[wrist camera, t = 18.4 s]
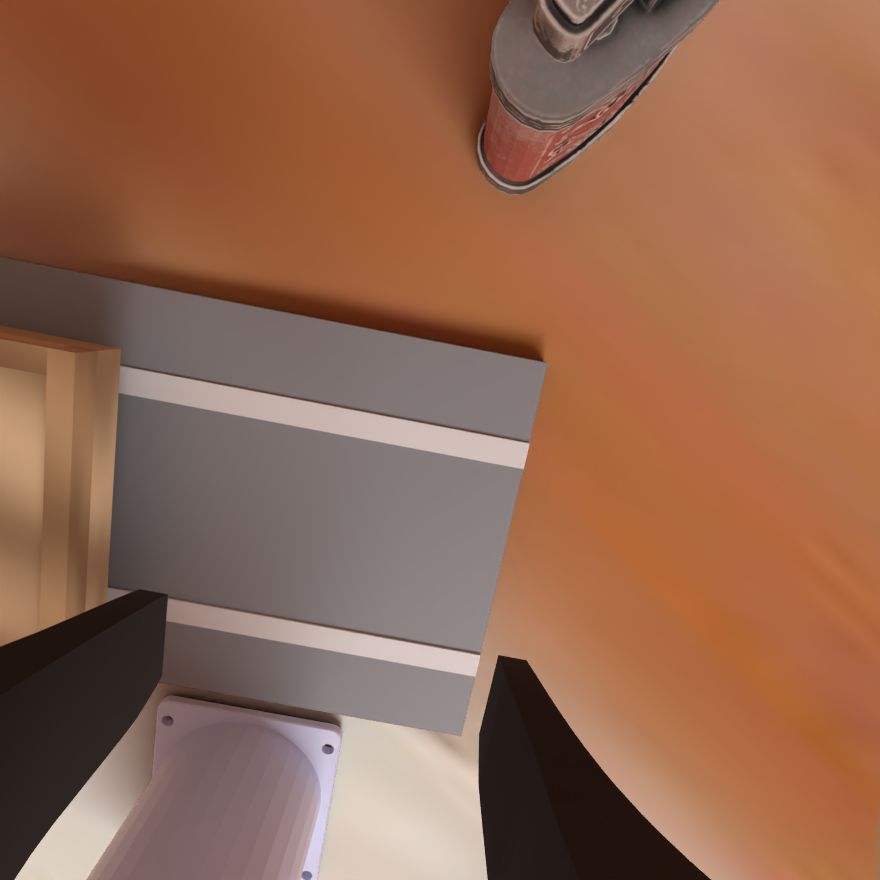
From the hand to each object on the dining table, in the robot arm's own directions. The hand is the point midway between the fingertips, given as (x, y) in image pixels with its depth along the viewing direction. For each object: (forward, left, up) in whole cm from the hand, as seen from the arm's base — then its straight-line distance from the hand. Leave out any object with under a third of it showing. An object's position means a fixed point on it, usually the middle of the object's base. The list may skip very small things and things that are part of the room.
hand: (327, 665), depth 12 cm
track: (-1, +10, -10) cm, 15 cm away
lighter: (+16, -4, -11) cm, 19 cm away
